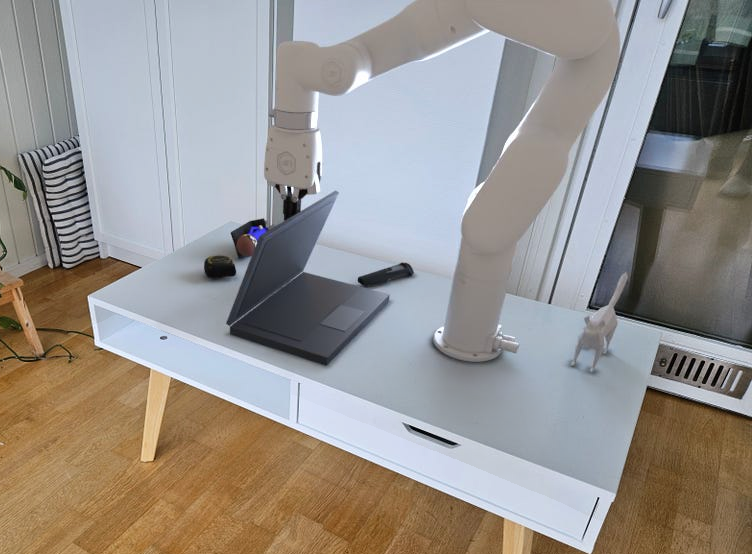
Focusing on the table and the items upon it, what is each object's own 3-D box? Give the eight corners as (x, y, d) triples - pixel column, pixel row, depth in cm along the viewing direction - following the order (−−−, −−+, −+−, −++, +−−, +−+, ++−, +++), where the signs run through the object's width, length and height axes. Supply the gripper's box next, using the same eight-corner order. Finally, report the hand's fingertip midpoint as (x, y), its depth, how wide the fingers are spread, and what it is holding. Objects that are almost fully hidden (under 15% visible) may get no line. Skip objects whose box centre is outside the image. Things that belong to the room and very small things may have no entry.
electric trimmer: (352, 286, 143) (353, 273, 142) (403, 270, 150) (405, 258, 149) (363, 292, 141) (364, 279, 139) (414, 276, 148) (416, 263, 146)
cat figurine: (561, 374, 114) (583, 305, 106) (592, 332, 127) (614, 267, 120) (587, 384, 111) (611, 313, 104) (616, 339, 125) (640, 273, 117)
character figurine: (280, 246, 162) (249, 267, 151) (256, 238, 165) (224, 258, 154) (283, 217, 158) (251, 236, 147) (258, 209, 161) (225, 228, 150)
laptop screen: (339, 192, 131) (335, 190, 131) (264, 238, 109) (259, 235, 109) (303, 271, 145) (299, 269, 145) (229, 326, 123) (225, 323, 123)
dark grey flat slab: (388, 301, 137) (389, 293, 136) (326, 366, 115) (327, 357, 114) (302, 278, 145) (303, 271, 144) (229, 334, 124) (229, 326, 123)
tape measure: (206, 282, 143) (205, 267, 141) (202, 270, 149) (202, 255, 146) (236, 280, 144) (236, 265, 142) (231, 267, 150) (231, 253, 148)
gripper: (248, 117, 112) (248, 217, 122) (324, 129, 106) (317, 233, 116) (270, 110, 118) (268, 206, 128) (343, 121, 112) (335, 221, 122)
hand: (291, 219), depth 122 cm, fingers closed
